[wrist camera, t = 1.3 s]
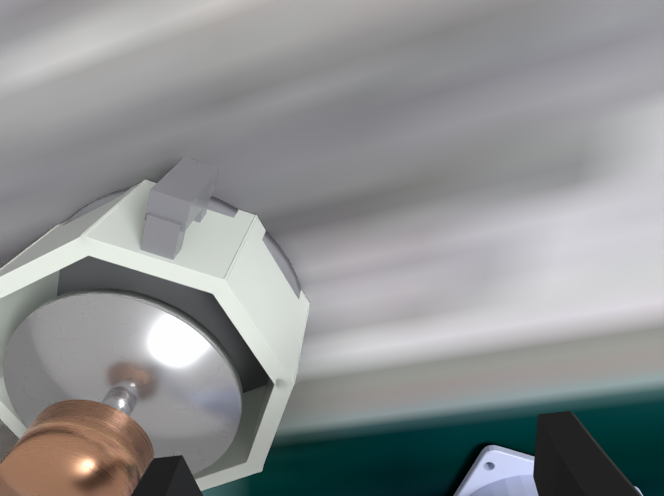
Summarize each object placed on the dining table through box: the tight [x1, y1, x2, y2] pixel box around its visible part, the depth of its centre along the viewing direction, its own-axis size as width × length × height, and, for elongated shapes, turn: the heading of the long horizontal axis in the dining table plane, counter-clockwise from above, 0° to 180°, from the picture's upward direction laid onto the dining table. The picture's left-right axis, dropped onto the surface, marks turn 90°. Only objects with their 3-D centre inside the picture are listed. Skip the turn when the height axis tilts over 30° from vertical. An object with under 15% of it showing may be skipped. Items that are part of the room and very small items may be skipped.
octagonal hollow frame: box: [0, 157, 310, 491], centre depth 20 cm, size 12×11×5 cm
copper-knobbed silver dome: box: [0, 288, 243, 496], centre depth 16 cm, size 8×8×5 cm
